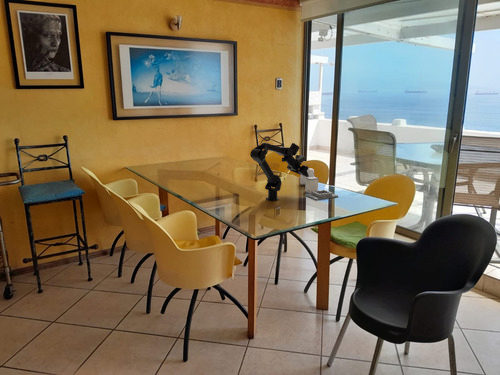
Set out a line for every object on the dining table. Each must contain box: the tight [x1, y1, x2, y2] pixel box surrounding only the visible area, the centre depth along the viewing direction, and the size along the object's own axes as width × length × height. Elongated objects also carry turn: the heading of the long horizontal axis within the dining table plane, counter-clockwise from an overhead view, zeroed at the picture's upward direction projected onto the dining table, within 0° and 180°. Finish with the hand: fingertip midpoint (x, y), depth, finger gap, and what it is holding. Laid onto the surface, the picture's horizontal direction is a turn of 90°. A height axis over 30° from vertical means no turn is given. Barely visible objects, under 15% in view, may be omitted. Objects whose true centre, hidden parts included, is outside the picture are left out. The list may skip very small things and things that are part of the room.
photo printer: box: [299, 167, 315, 185], centre depth 279 cm, size 10×4×12 cm, turn 90°
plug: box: [304, 176, 319, 194], centre depth 258 cm, size 5×7×10 cm
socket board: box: [305, 189, 339, 201], centre depth 247 cm, size 12×18×3 cm, turn 116°
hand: (304, 175), depth 254 cm, fingers open, 9 cm apart
